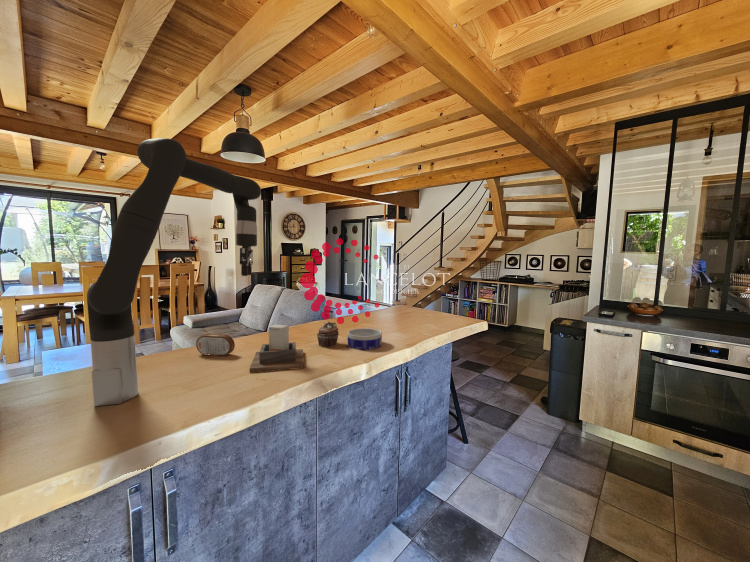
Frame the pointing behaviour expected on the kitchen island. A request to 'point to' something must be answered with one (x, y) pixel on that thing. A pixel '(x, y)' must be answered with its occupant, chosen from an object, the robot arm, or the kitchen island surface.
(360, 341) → the dog bowl
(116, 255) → the robot arm
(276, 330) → the skincare box
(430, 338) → the kitchen island surface
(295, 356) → the bottle holder
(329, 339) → the cupcake
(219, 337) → the tin
